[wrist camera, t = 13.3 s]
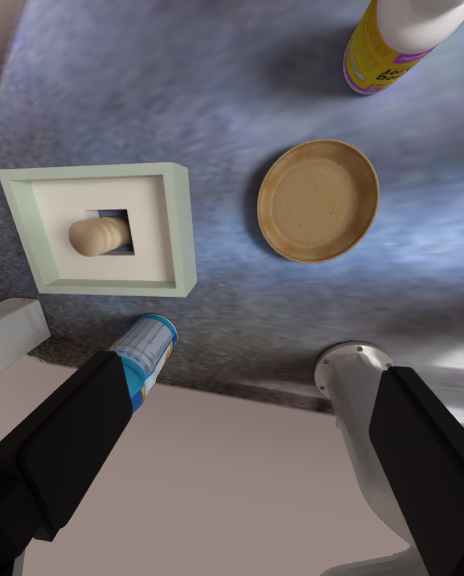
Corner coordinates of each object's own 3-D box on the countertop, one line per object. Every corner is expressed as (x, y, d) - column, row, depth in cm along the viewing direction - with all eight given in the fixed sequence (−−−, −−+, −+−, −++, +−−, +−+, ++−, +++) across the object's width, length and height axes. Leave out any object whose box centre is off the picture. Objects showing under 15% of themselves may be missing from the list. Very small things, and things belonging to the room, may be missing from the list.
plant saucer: (384, 144, 29) (395, 139, 26) (356, 262, 34) (363, 267, 32) (261, 142, 30) (261, 137, 28) (253, 255, 36) (253, 260, 33)
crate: (197, 282, 38) (185, 297, 32) (69, 279, 41) (39, 293, 35) (187, 167, 32) (171, 162, 27) (39, 173, 35) (-4, 169, 29)
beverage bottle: (173, 309, 40) (97, 406, 22) (184, 351, 43) (125, 467, 25) (128, 313, 42) (21, 408, 23) (141, 353, 45) (56, 465, 26)
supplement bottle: (352, 109, 28) (419, 45, 16) (332, 46, 26) (390, -80, 14) (414, 72, 26) (543, -31, 14) (397, 1, 24) (528, -186, 12)
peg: (140, 230, 36) (109, 239, 29) (125, 250, 38) (91, 264, 30) (117, 209, 35) (79, 212, 28) (102, 230, 37) (62, 239, 29)
